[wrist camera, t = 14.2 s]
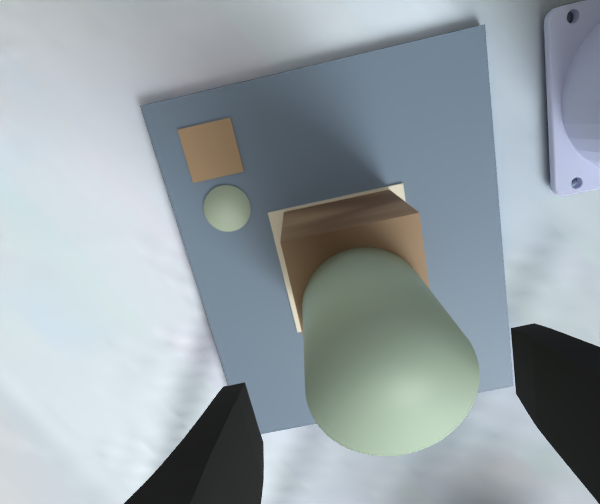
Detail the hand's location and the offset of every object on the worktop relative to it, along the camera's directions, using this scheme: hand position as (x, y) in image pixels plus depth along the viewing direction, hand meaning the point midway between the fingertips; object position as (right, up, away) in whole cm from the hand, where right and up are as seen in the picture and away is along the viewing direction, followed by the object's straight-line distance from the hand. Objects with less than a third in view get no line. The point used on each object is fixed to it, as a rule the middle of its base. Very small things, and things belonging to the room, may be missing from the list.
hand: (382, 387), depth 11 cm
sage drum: (0, +2, +5) cm, 5 cm away
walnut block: (0, +4, +9) cm, 10 cm away
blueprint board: (0, +3, +10) cm, 10 cm away
